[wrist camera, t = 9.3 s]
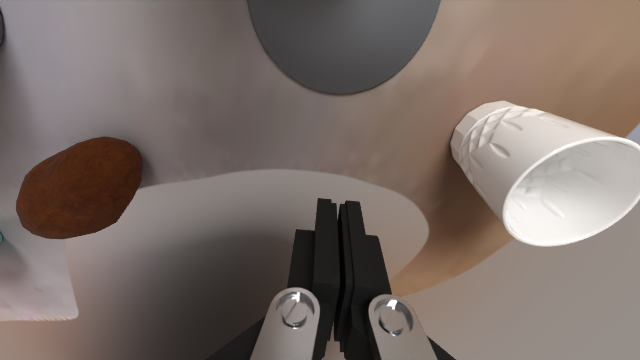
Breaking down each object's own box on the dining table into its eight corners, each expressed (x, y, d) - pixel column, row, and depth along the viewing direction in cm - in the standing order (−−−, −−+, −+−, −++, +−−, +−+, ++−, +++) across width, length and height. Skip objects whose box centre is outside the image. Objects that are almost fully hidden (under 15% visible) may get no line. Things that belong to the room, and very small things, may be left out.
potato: (175, 167, 27) (124, 217, 20) (115, 221, 31) (55, 278, 24) (105, 108, 24) (17, 143, 17) (49, 176, 28) (-42, 226, 21)
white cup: (550, 133, 24) (672, 195, 16) (473, 188, 27) (540, 263, 19) (504, 72, 22) (619, 106, 13) (425, 140, 25) (477, 202, 16)
